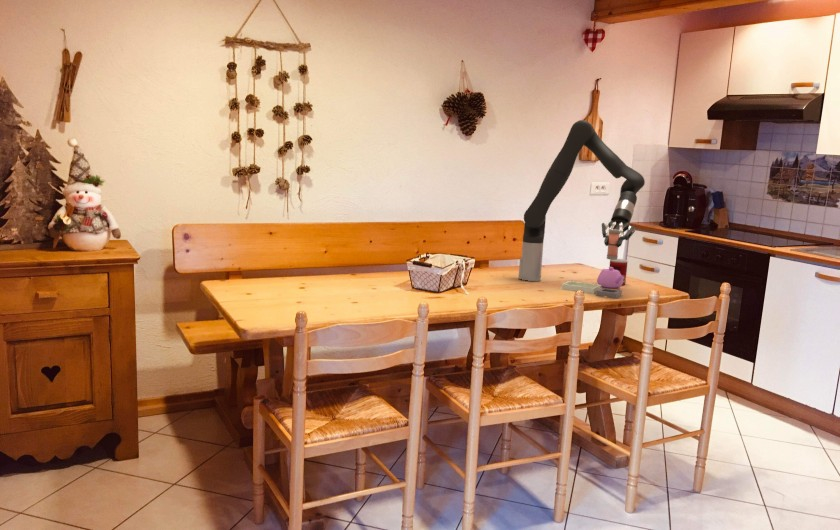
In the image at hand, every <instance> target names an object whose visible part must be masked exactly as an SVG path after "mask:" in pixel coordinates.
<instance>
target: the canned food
mask: <svg viewBox="0 0 840 530" xmlns="http://www.w3.org/2000/svg"><path fill="white" fill-rule="evenodd" d="M609 267H613V268H614V270H618V271H620V273H621V275H623V276H624V278H623V284H622V286H625V285H626V282H627V273H628V260H627V259H622V258H617V260H611V259H609ZM609 267H608V268H609Z"/></svg>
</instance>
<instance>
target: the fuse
mask: <svg viewBox="0 0 840 530" xmlns="http://www.w3.org/2000/svg"><path fill="white" fill-rule="evenodd" d="M608 231H609V241H608V246H607V253H606V260H610V259H611V260H617V259H619V258H618V255H619V247H617V241H618V238H619V237H620V230H619V229H610V228H608Z"/></svg>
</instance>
